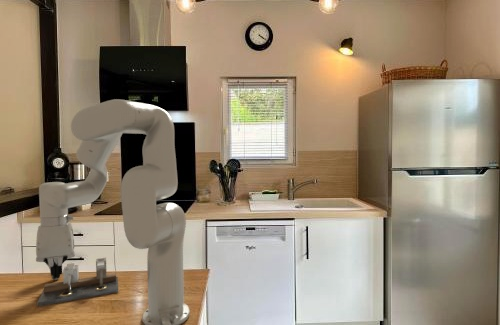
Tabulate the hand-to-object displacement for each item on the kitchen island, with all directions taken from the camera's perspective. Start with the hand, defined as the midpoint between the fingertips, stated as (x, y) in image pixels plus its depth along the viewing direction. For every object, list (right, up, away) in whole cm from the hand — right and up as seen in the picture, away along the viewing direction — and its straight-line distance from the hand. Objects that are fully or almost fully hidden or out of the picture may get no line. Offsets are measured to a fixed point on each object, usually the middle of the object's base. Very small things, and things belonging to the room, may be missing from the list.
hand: (56, 276), depth 101 cm
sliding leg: (+4, -3, 0) cm, 6 cm away
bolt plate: (+8, -5, 0) cm, 9 cm away
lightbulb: (-6, -5, +10) cm, 12 cm away
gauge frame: (+7, -4, +1) cm, 8 cm away
